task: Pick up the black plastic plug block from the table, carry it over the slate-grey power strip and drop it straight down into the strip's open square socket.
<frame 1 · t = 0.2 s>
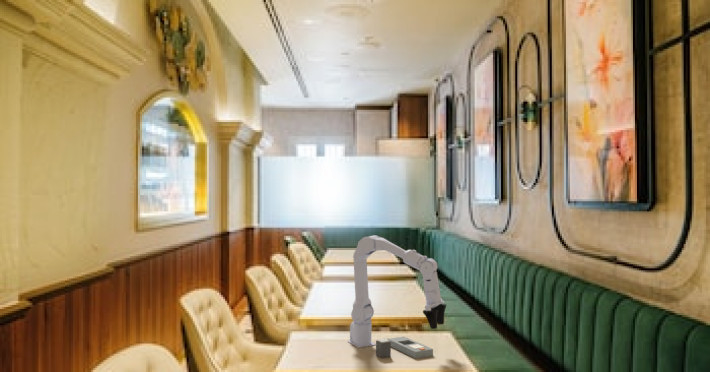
hand: (437, 326, 202), 10 cm above the table, tool pointing down, fingers open, 7 cm apart
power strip: (409, 350, 206), on the table
plug block: (383, 356, 198), on the table
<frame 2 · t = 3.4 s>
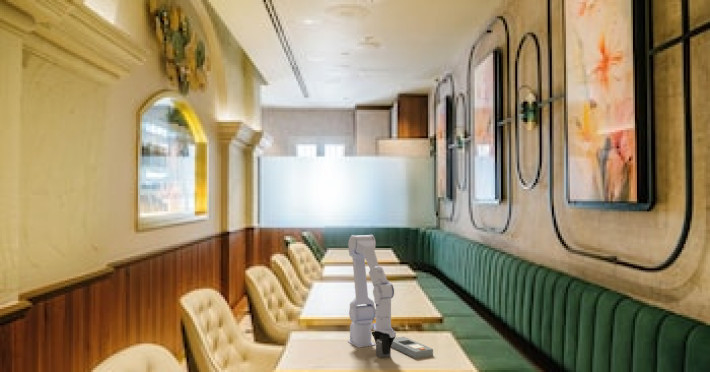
hand: (383, 352, 198), 1 cm above the table, tool pointing down, fingers closed on plug block, 4 cm apart
plug block: (383, 356, 198), on the table, touching gripper
when the fingers open (3 cm above the table, at t = 7.3 s): plug block drops 2 cm, resting on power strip.
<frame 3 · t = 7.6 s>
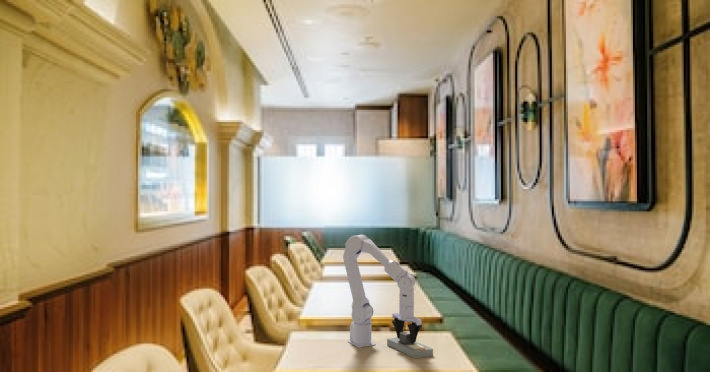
hand: (406, 340, 208), 3 cm above the table, tool pointing down, fingers open, 7 cm apart
plug block: (406, 348, 208), resting on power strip
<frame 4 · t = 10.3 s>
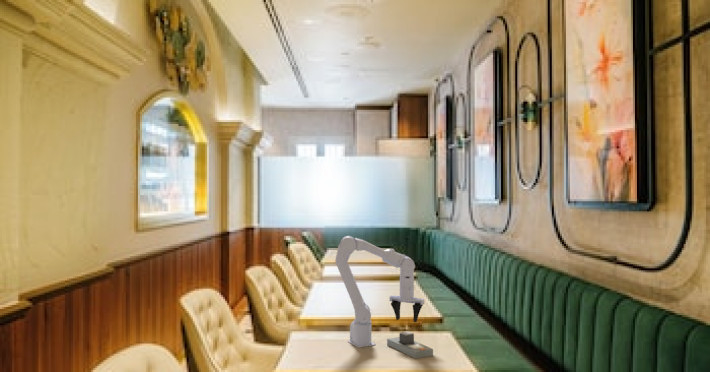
hand: (406, 320, 215), 9 cm above the table, tool pointing down, fingers open, 7 cm apart
nothing on the table moved.
at the end: plug block 0.1 cm from the target spot on the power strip, point 0.3 cm above the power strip's base; plug block tilted 0°; the gripper is holding nothing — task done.
